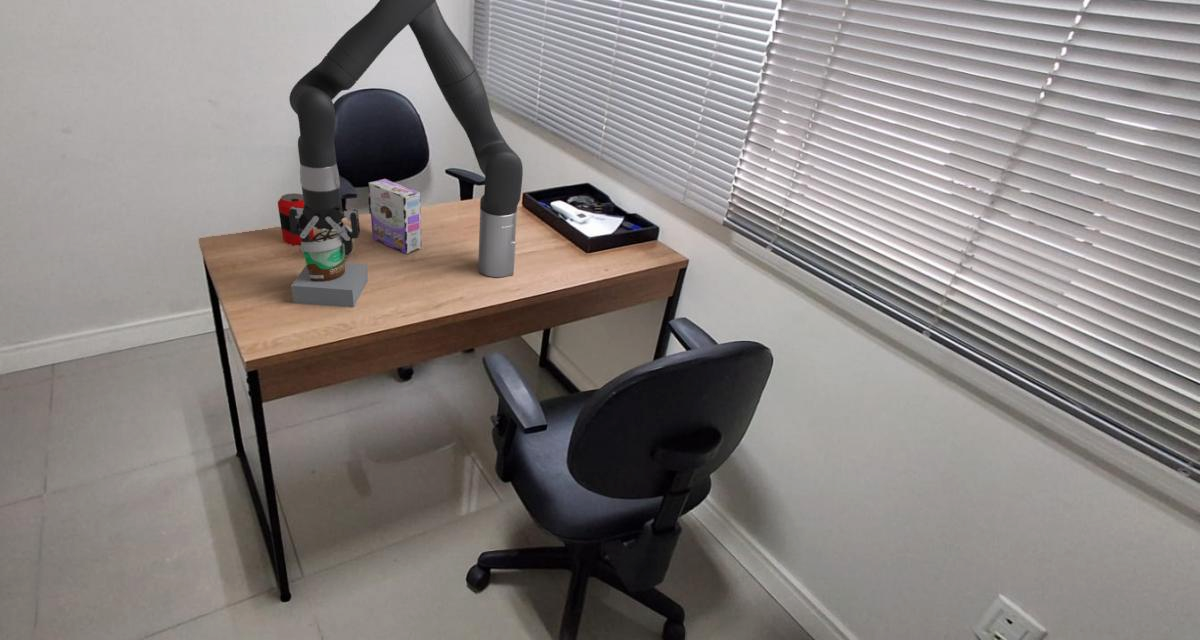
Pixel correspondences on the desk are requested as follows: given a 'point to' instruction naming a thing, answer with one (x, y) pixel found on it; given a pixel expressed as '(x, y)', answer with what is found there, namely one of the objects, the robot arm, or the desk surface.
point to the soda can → (284, 207)
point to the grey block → (331, 287)
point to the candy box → (395, 215)
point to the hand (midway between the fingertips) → (328, 252)
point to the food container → (325, 256)
